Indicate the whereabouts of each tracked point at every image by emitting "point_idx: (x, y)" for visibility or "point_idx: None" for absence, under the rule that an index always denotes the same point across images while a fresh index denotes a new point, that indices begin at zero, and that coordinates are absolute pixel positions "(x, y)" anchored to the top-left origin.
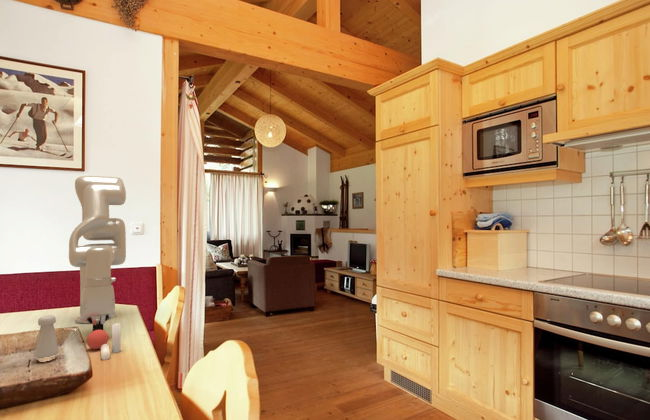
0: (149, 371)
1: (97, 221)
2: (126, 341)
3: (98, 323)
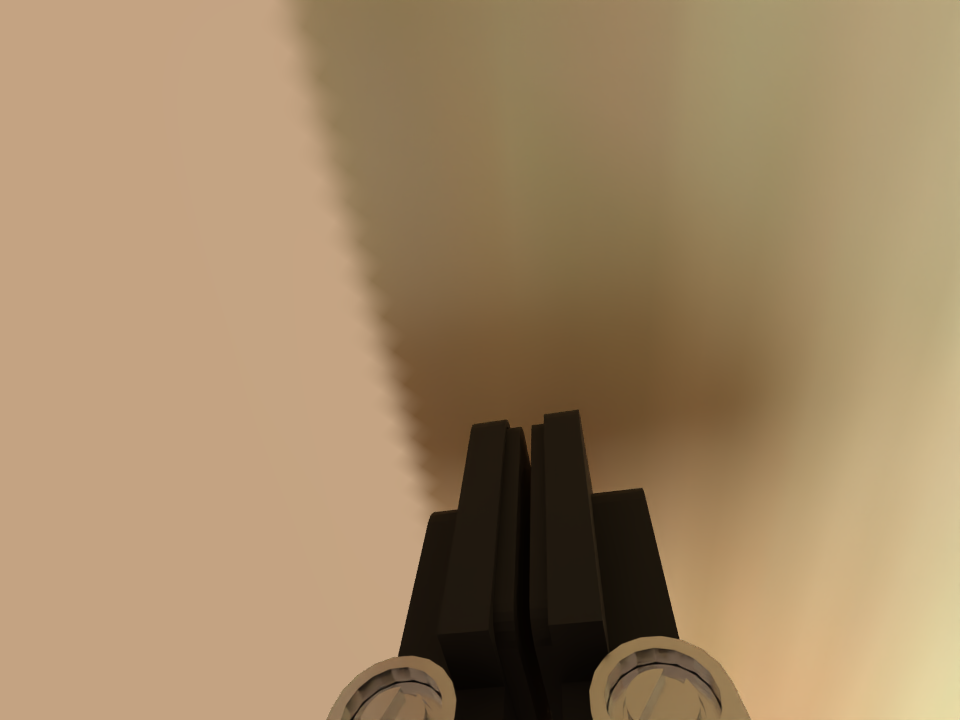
0: None
1: None
2: (933, 716)
3: (557, 652)
